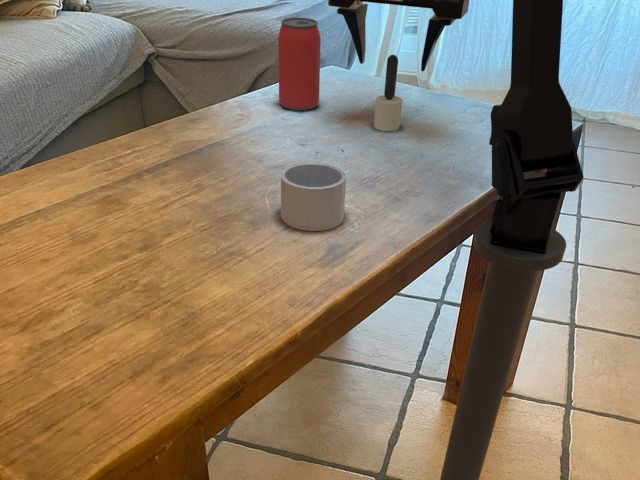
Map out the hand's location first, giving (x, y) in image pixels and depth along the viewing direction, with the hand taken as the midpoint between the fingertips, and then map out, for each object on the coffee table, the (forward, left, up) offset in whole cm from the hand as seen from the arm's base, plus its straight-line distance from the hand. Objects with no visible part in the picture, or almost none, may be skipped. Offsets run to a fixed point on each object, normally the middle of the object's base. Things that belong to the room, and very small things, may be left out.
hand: (392, 66), depth 97 cm
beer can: (+16, -4, -9) cm, 19 cm away
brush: (0, 0, -9) cm, 9 cm away
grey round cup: (0, +34, -9) cm, 35 cm away
